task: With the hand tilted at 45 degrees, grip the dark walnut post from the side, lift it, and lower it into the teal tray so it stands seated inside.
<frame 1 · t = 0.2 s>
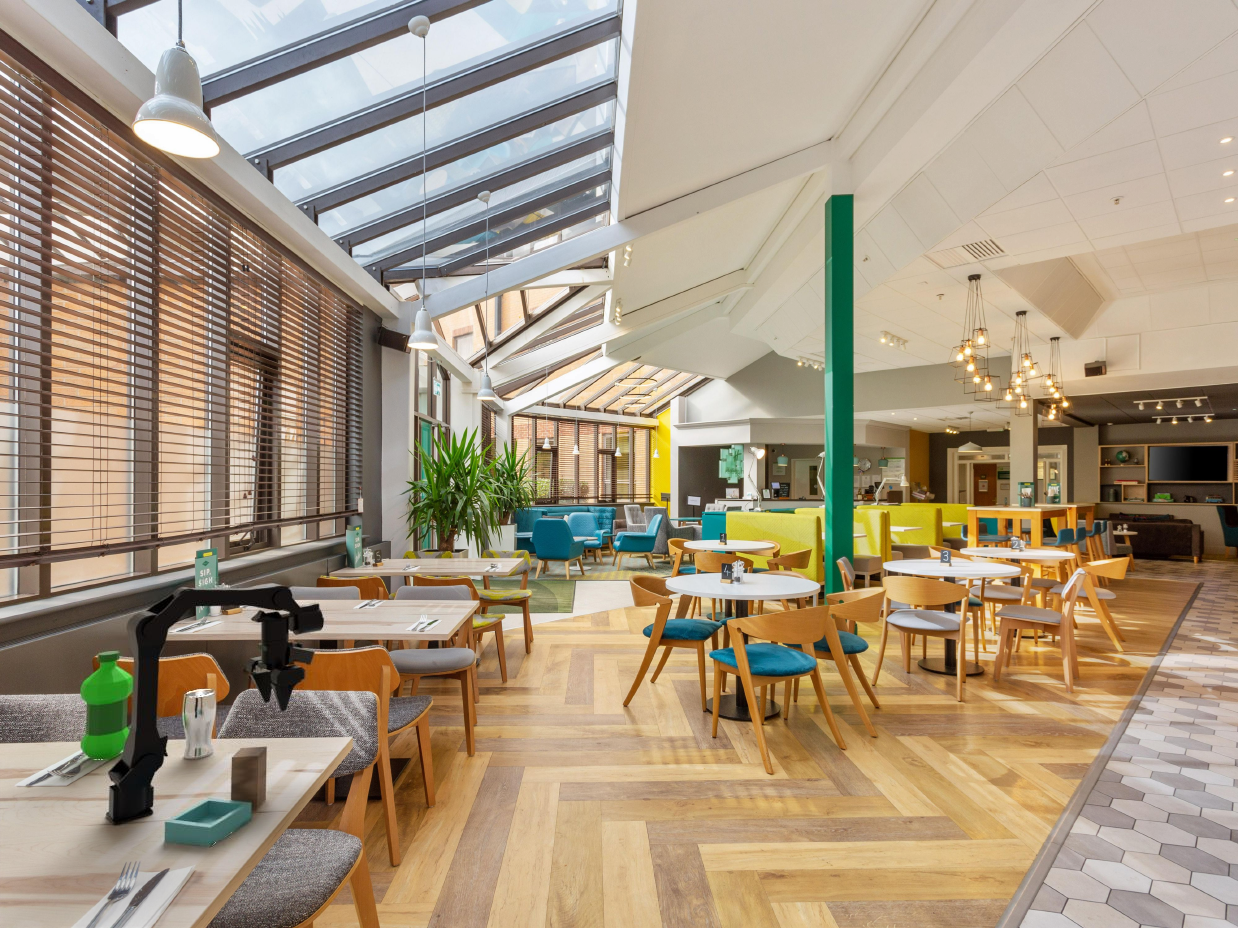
hand: (275, 706, 157), 15 cm above the table, tool pointing down, fingers open, 9 cm apart
teal tray: (209, 830, 129), on the table
walnut post: (248, 805, 139), on the table
beer glass: (198, 755, 166), on the table
plastic bottle: (105, 757, 165), on the table
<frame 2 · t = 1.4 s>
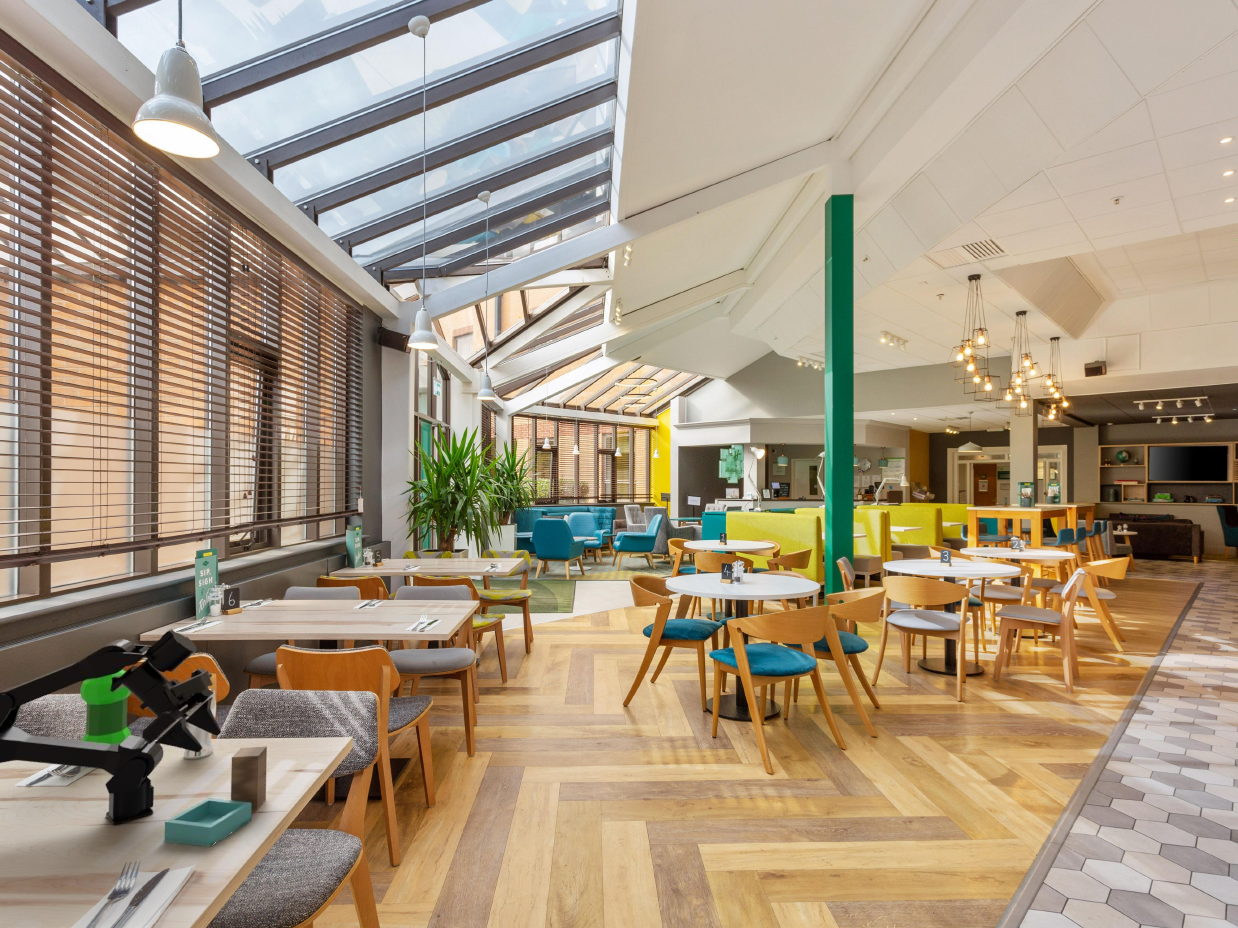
hand: (210, 741, 138), 13 cm above the table, tool tilted 45°, fingers open, 9 cm apart
nothing on the table moved.
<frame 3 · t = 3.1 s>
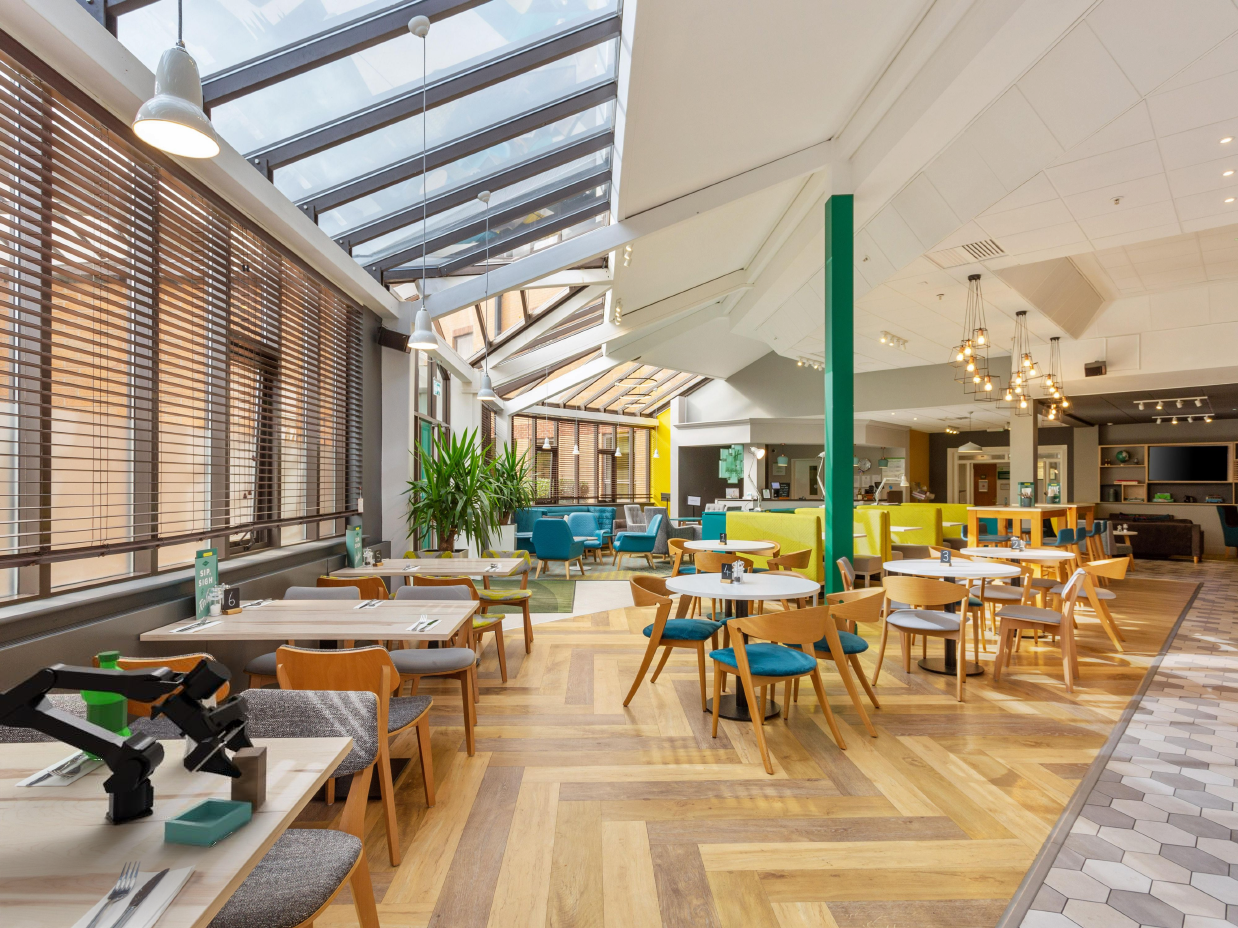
hand: (248, 766, 139), 8 cm above the table, tool tilted 45°, fingers open, 9 cm apart
nothing on the table moved.
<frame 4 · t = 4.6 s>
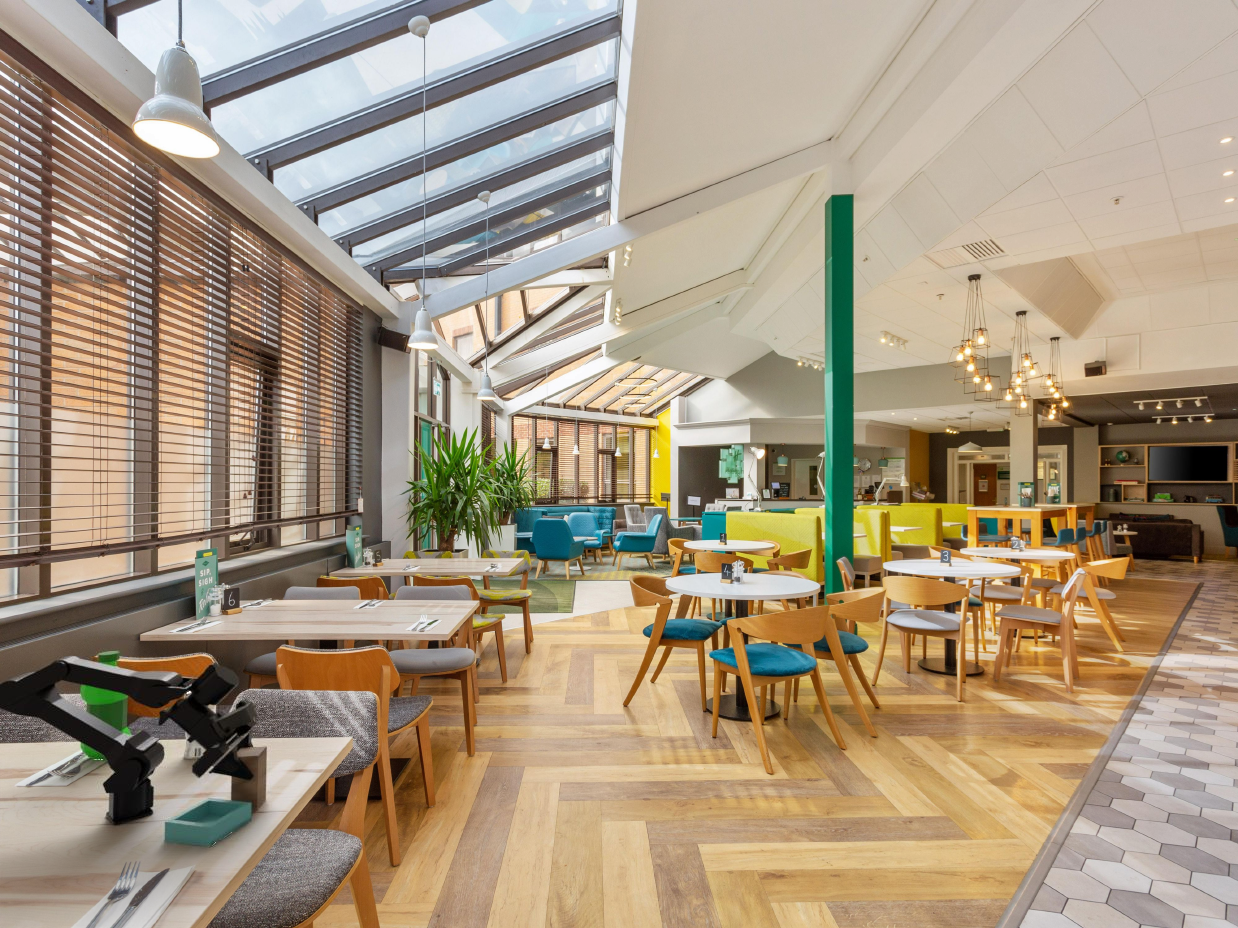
hand: (256, 772, 140), 7 cm above the table, tool tilted 45°, fingers closed on walnut post, 5 cm apart
walnut post: (248, 805, 139), on the table, touching gripper
everything else where it was.
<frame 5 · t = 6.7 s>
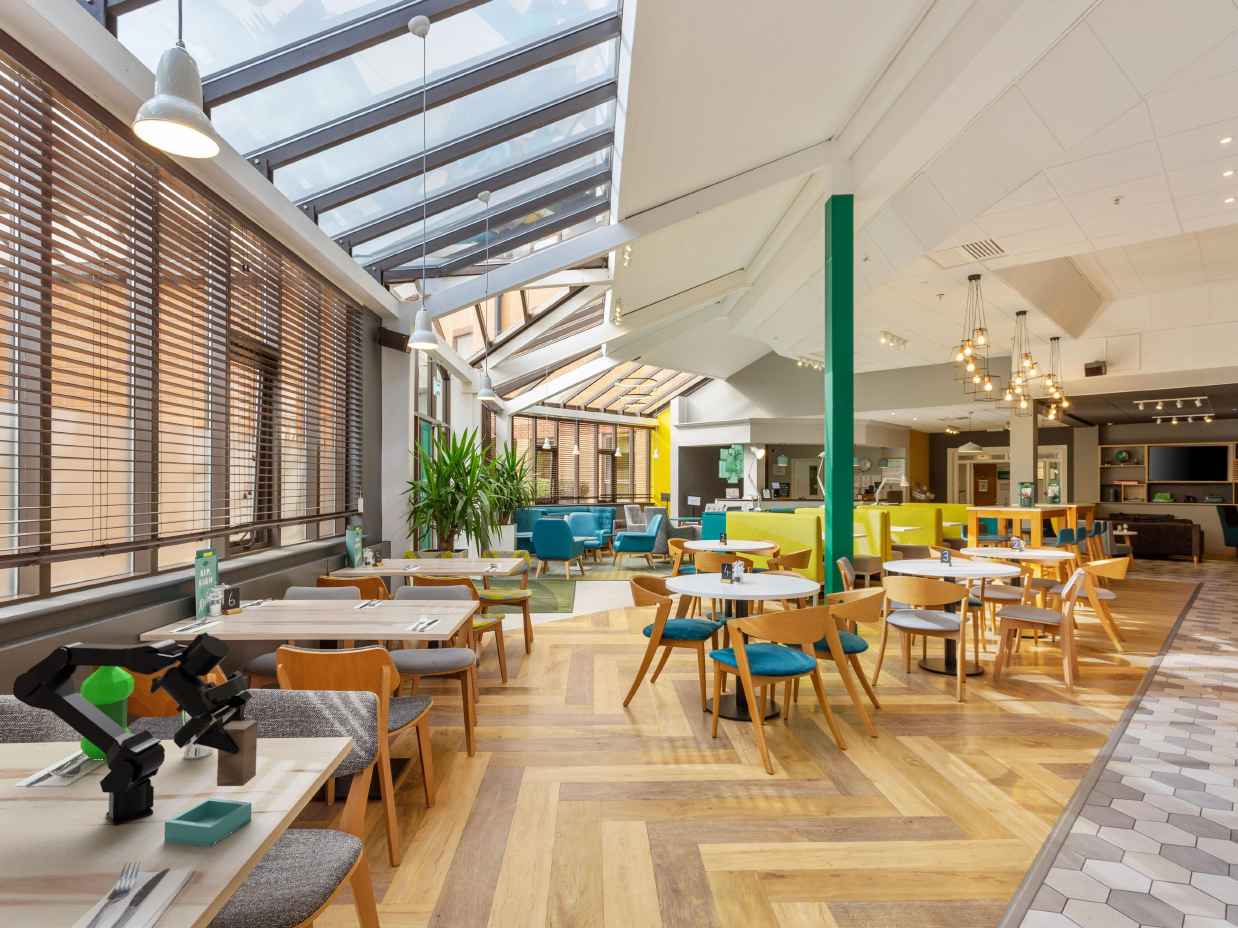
hand: (244, 746, 136), 13 cm above the table, tool tilted 45°, fingers closed on walnut post, 5 cm apart
walnut post: (236, 780, 135), point 7 cm above the table, touching gripper
everything else where it was.
when the fingers open (9 cm above the table, at t = 9.1 s): walnut post drops 2 cm, resting on teal tray.
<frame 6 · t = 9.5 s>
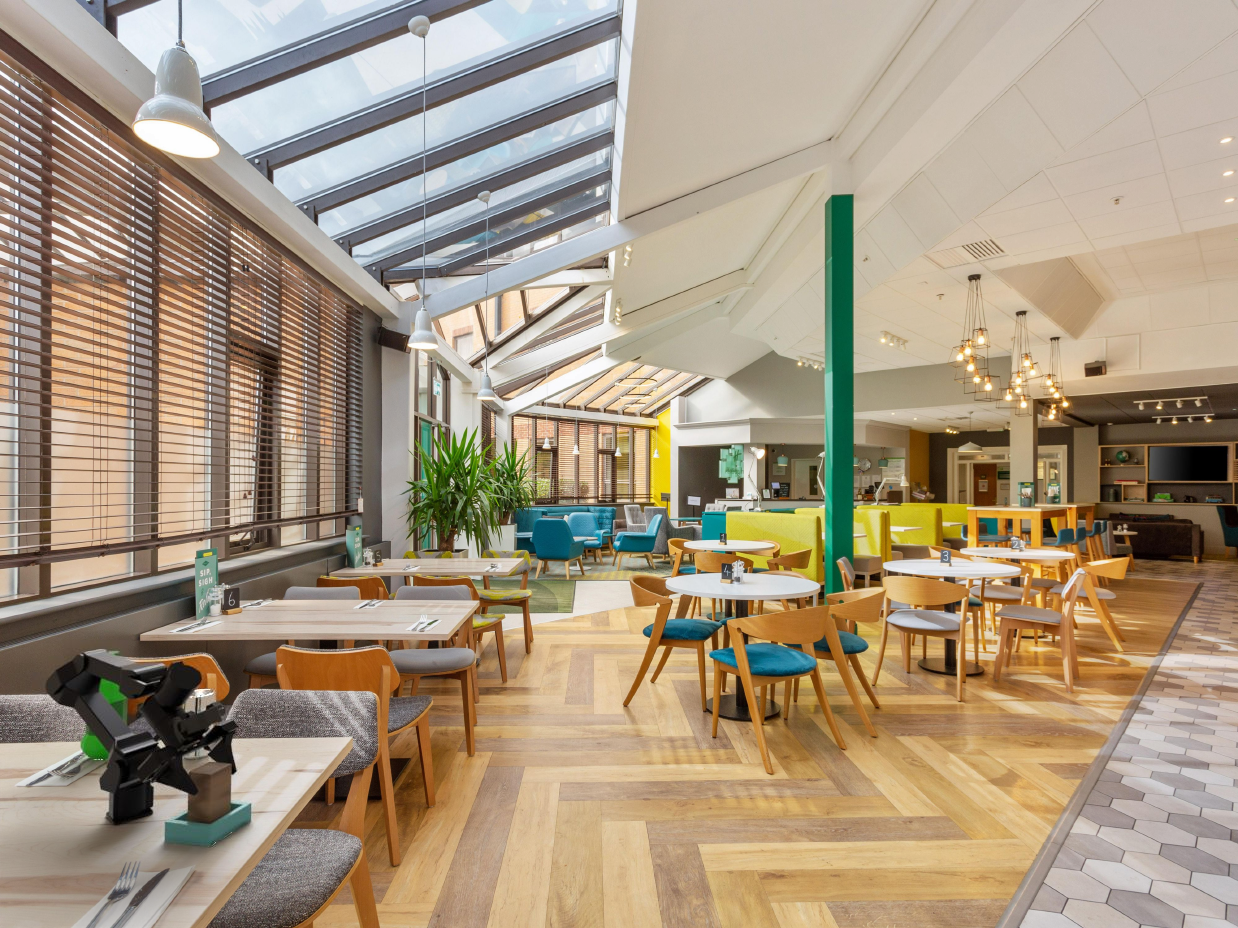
hand: (216, 782, 129), 9 cm above the table, tool tilted 45°, fingers open, 9 cm apart
walnut post: (209, 826, 129), point 1 cm above the table, touching teal tray
everything else where it was.
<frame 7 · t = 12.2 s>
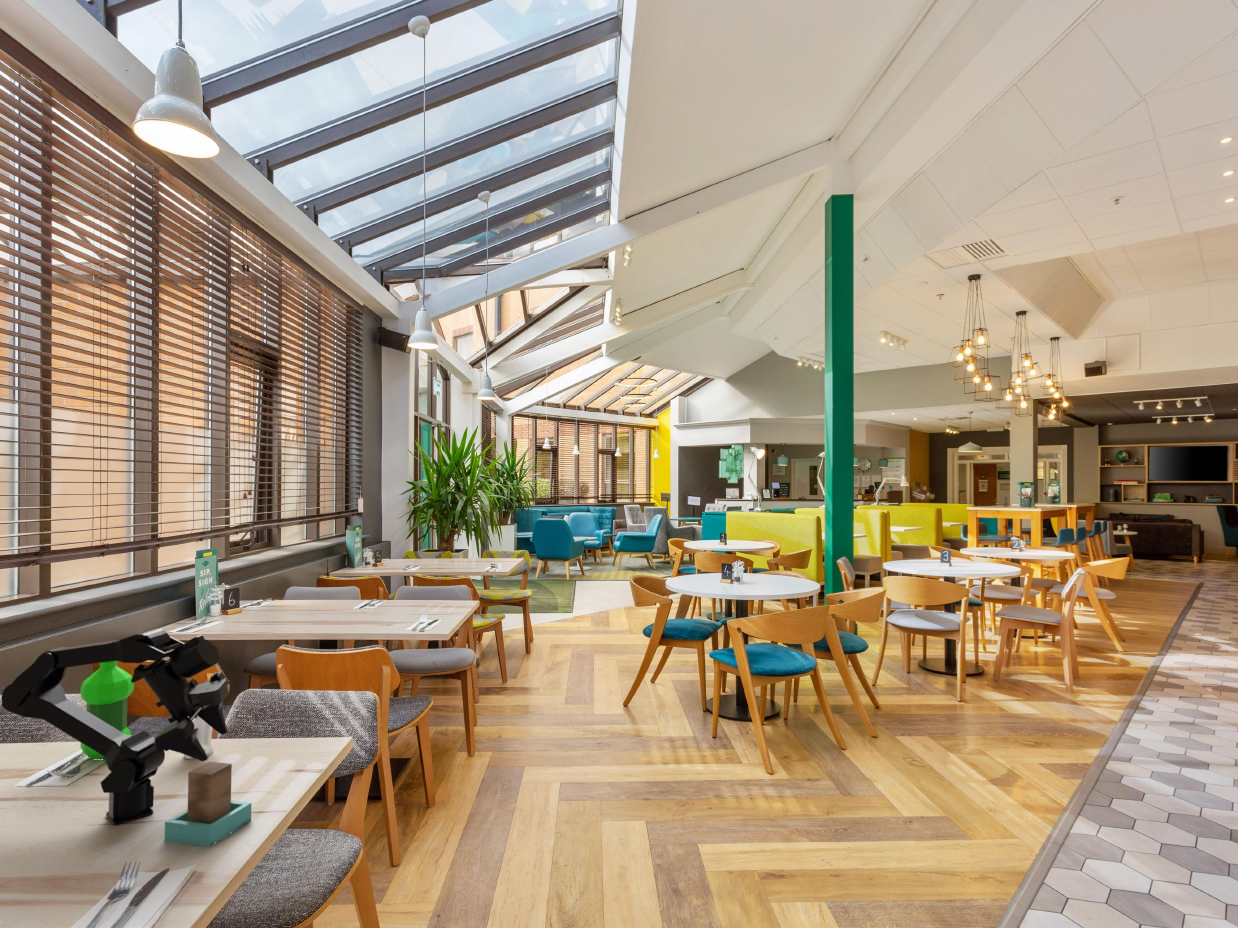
hand: (215, 746, 141), 12 cm above the table, tool tilted 30°, fingers open, 9 cm apart
nothing on the table moved.
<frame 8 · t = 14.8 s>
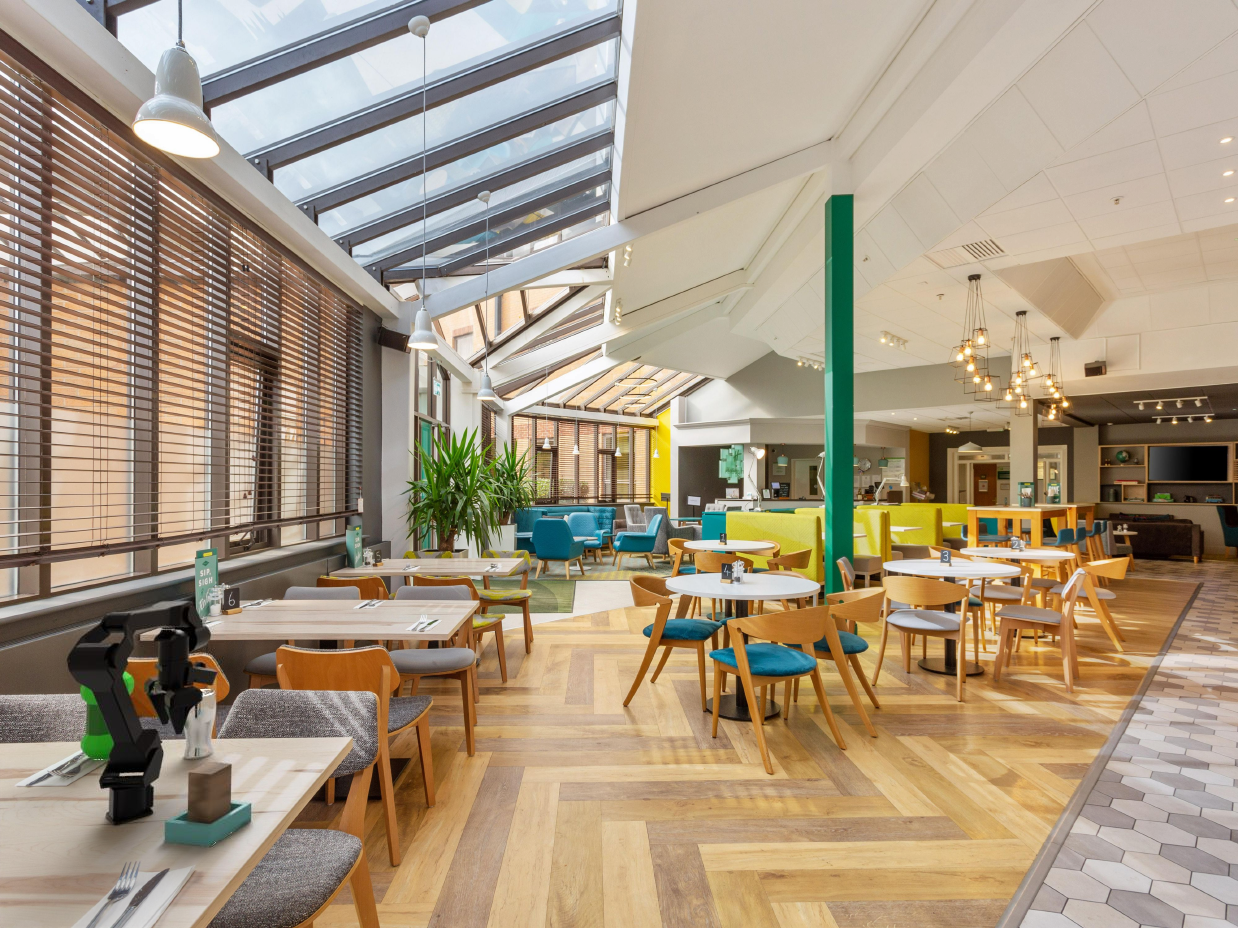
hand: (171, 729, 150), 12 cm above the table, tool pointing down, fingers open, 9 cm apart
nothing on the table moved.
at the end: walnut post 0.0 cm from the teal tray (horizontally); walnut post point 0.8 cm above the table; walnut post tilted 0° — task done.
